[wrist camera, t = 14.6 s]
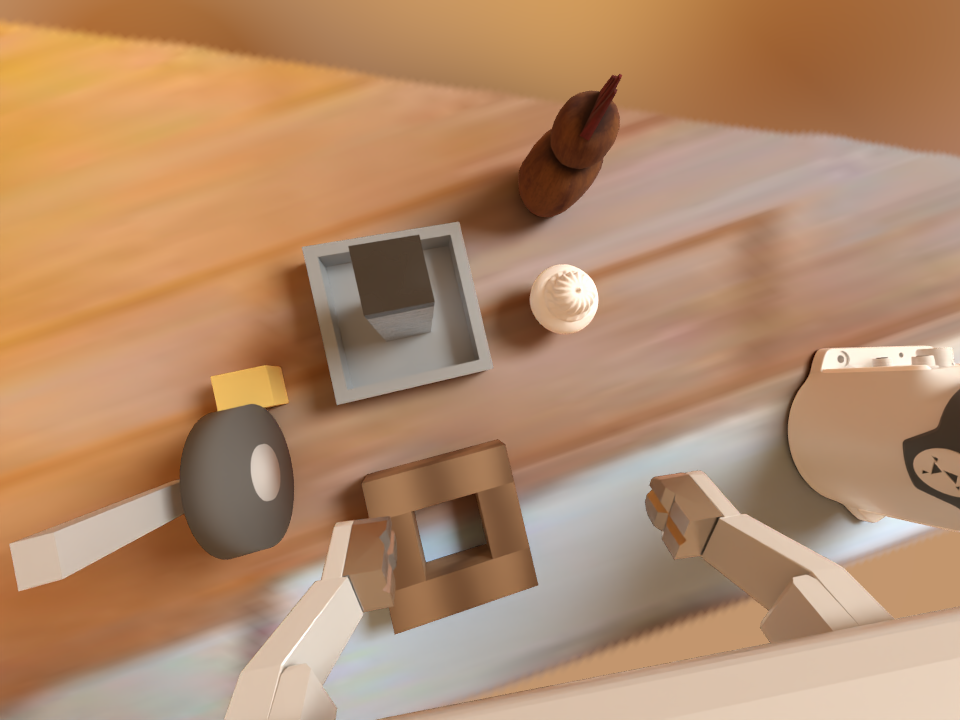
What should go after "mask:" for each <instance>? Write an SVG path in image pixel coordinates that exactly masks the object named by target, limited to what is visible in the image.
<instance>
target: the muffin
mask: <svg viewBox="0 0 960 720" xmlns="http://www.w3.org/2000/svg"><path fill="white" fill-rule="evenodd" d="M530 306H531V309H532V312H533V315H534V316H535V317H536V320H538V321H539V324H541V325H542V326H544V328H546V329H548V330H550V331H552V332H554V333H558V334H571V333H575V332H578V331H580V330H581V329H583V328H584V327H586V326H587V325H588V324H589V323H590V321H591V320H592V319H593V317H594V315H595V313H596V311H597V307H598V293H597V289H596V286H595V284H594V282H593V281H592V279H591V278H590V277H589V276H588V275H587V274H586V273H585V272H583V271H582V270H580V269H579V268H576V267H574V266H571V265H564V264H563V265H555V266H552V267H550V268H548V269H546V270H544V271H543V272H542V273H541V274H540V275H539V276H538V277H537V279H536V280H535V282H534V284H533V286H532V289H531V293H530Z"/></svg>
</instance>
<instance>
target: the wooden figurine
mask: <svg viewBox="0 0 960 720" xmlns="http://www.w3.org/2000/svg"><path fill="white" fill-rule="evenodd" d="M621 77H622V75H621V74H619V75H618V76H614V75H612V76H611V78H610V79H609V80H608V81H607V83H606V84H605V85H604V87H603V88H602V89H601V91H600V92H598V91H587V92H582V93H579V94H577V95H575V96H573V97H571V98H570V99H569V100H568V101H567V102H566V104H565V105H564V106H563V107H562V109H561V110H560V111H559V113H558V115H557V117H556V119H555V121H554V124H553V127H552V129H550V130H549V131H548V132H546V133H545V134H544V135H543V136H542V138H541V139H540V140H539V141H538V142H537V143H536V144H535V145H534V146H533V148H532V149H531V151H530V153H529V154H528V156H527V157H526V159H525V160H524V161H523V163H522V165H521V167H520V170H519V193H520V197H521V199H522V201H523V203H524V205H525V206H526V208H527V209H528V210H529V211H530V212H531V213H533V214H535V215H537V216H539V217H553V216H555V215H558V214H560V213H562V212H564V211H566V210H567V209H568V208H569V207H570V206H572V205H573V204H574V203H575V202H576V201H577V200H579V198H580V197H581V196H582V195H583V194H584V193H585V192H586V191H587V190H588V188H589V187H590V186H591V184H592V183H593V181H594V180H595V178H596V176H597V175H598V173H599V171H600V169H601V166H602V163H603V157H604V156H605V155H606V153H607V152H608V151H609V149H610V148H611V147H612V145H613V144H614V142H615V139H616V137H617V134H618V131H619V127H620V116H619V113H618V110H617V106H616V105H615V103H614V102H613V101H612V99H613V98H614V96H615V94H616V92H617V89H616V87H617V85H618V83H619V81H620V79H621Z"/></svg>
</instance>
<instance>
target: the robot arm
mask: <svg viewBox="0 0 960 720" xmlns="http://www.w3.org/2000/svg"><path fill="white" fill-rule="evenodd" d="M953 357H954V355H953V349H951V347H945V348H933V347H931V346H888V347H852V348H822V349H819V350H818V351H817V352H816V354H815V356H814V359H813V362H812V366H811V371H810V374H809V376H808V378H807V380H806V381H805V383H804V384H803V385H802V387H801V388H800V390H799V391H798V393H797V395H796V397H795V399H794V401H793V404H792V406H791V410H790V414H789V420H788V440H789V446H790V451H791V454H792V457H793V460H794V463H795V465H796V467H797V469H798V471H799V473H800V474H801V476H802V477H803V478H804V480H805V481H806V482H807V483H808V484H809V485H810V486H811V487H812V488H813V489H814V490H815V491H816V492H818V493H819V494H821V495H822V496H824V497H826V498H829V499H831V500H834V501H837V502H839V503H841V504H843V505H844V506H845V507H846V508H847V509H848V510H849V511H850V512H851V513H852V514H853V515H854V516H855V517H856V518H858V519H860V520H863V521H867V522H872V523H875V522H878V521H879V520H881V519H882V518H884V517H885V516H887V517H892V518H896V519H901V520H905V521H909V522H914V523H918V524H923V525H927V526H932V527H936V528H941V529H946V530H950V531H955V532H960V364H955V362H953V360H954V358H953ZM650 487H651V488H652V490H651V491H650V492H649V493H648V494H647V496H646V500H645V505H646V511H647V514H648V516H649V519H650V520H651V522H652V524H653V525H654V526H655V527H657V528H658V529H660V530H661V531H662V540H663V542H664V543H665V545H666V547H667V548H668V550H669V552H670V553H671V555H672V556H673V558H674V560H675V559H682V558H689V557H697V556H702V557H701V558H703V559H704V560H705V561H706V562H708V563H709V564H710V565H712V566H713V567H714V568H715V569H717V570H718V571H719V572H720V573H722V574H723V575H724V576H725V577H727V578H728V579H729V580H731V581H732V582H733V583H734V584H736V585H737V586H738V587H739V588H741V589H742V590H743V591H744V592H746V593H747V594H748V595H750V596H751V597H752V598H753V599H755V600H756V601H757V602H758V603H760V604H761V605H762V606H764V607H765V608H766V609H767V610H769V612H768V613H767V615H766V616H765V617H764V619H763V620H762V622H761V625H760V628H761V630H762V631H763V633H764V634H765V636H766V637H767V639H768V640H769V642H770V643H769V644H763V645H759V646H753V647H748V648H743V649H738V650H732V651H727V652H722V653H717V654H712V655H707V656H701V657H696V658H691V659H686V660H681V661H676V662H670V663H665V664H661V665H655V666H650V667H646V668H640V669H634V670H629V671H624V672H619V673H614V674H609V675H603V676H598V677H593V678H588V679H583V680H578V681H573V682H567V683H562V684H557V685H552V686H547V687H542V688H536V689H531V690H526V691H521V692H516V693H510V694H505V695H500V696H495V697H490V698H485V699H480V700H474V701H469V702H464V703H459V704H454V705H449V706H444V707H438V708H433V709H428V710H423V711H418V712H413V713H407V714H402V715H397V716H392V717H387V718H382V719H377V720H960V607H954V608H949V609H944V610H939V611H934V612H929V613H923V614H918V615H913V616H908V617H903V618H898V619H894V618H893V617H892V616H891V615H890V614H889V613H888V612H887V611H886V610H885V609H884V608H883V607H882V606H881V605H880V604H879V603H878V602H877V601H876V600H875V599H874V598H873V597H872V596H871V595H870V594H869V593H868V592H867V591H866V590H865V589H864V588H863V587H862V586H861V585H860V584H859V583H858V582H857V581H856V580H855V579H854V578H853V577H852V576H851V575H850V574H849V573H848V572H847V571H846V570H845V569H844V568H843V567H842V566H840V565H838V564H836V563H834V562H833V561H831V560H829V559H827V558H825V557H823V556H822V555H820V554H818V553H816V552H814V551H812V550H811V549H809V548H807V547H805V546H803V545H802V544H800V543H798V542H796V541H794V540H792V539H791V538H789V537H787V536H785V535H783V534H782V533H780V532H778V531H776V530H774V529H772V528H771V527H769V526H767V525H765V524H763V523H761V522H760V521H758V520H756V519H754V518H752V517H751V516H749V515H747V514H740V513H739V512H738V510H737V509H736V508H735V507H734V506H733V505H732V504H731V502H730V501H729V500H728V499H727V498H726V497H725V496H724V494H723V493H722V492H721V491H720V490H719V489H718V488H717V486H716V485H715V484H714V483H713V482H712V481H711V480H710V478H709V477H708V476H707V475H706V474H705V473H704V472H702V471H692V472H686V473H676V474H670V475H664V476H658V477H654V478H652V479H651V482H650ZM391 529H392V521H391V518H390V516H384V517H376V518H368V519H360V520H351V521H344V522H337V523H336V524H335V526H334V528H333V532H332V536H331V540H330V544H329V548H328V553H327V557H326V561H325V565H324V569H323V573H322V578H321V580H320V581H315V582H314V584H313V585H312V586H311V587H310V589H309V590H308V591H307V592H306V593H305V595H304V596H303V597H302V598H301V600H300V601H299V602H298V603H297V604H296V606H295V607H294V608H293V609H292V611H291V612H290V613H289V614H288V615H287V617H286V618H285V619H284V620H283V622H282V623H281V624H280V625H279V626H278V628H277V629H276V630H275V631H274V633H273V634H272V635H271V636H270V637H269V639H268V640H267V641H266V642H265V644H264V645H263V646H262V647H261V648H260V650H259V651H258V652H257V653H256V655H255V656H254V657H253V658H252V659H251V661H250V662H249V663H248V664H247V666H246V667H245V668H244V669H243V670H242V672H241V673H240V676H239V679H238V682H237V684H236V687H235V690H234V693H233V696H232V699H231V702H230V704H229V707H228V710H227V713H226V716H225V719H224V720H335V719H336V712H337V707H336V706H335V704H334V703H333V701H332V700H331V698H330V697H329V695H328V694H327V692H326V691H325V689H324V688H323V684H324V682H325V680H326V679H327V677H328V675H329V673H330V672H331V670H332V668H333V666H334V665H335V663H336V661H337V660H338V658H339V656H340V654H341V653H342V651H343V649H344V647H345V646H346V644H347V642H348V640H349V639H350V637H351V635H352V633H353V632H354V630H355V628H356V626H357V625H358V623H359V621H360V619H361V618H362V616H363V612H367V611H373V610H378V609H383V608H388V607H393V606H394V598H395V584H396V581H395V578H394V574H393V570H394V569H395V568H396V566H397V542H396V536H395V532H393V531H392V530H391Z"/></svg>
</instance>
